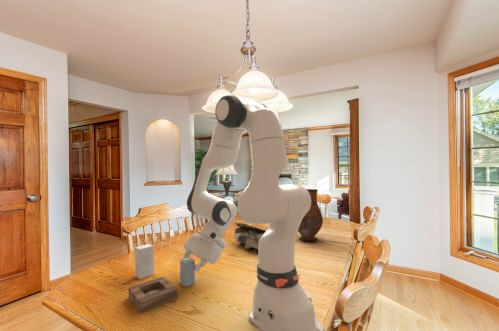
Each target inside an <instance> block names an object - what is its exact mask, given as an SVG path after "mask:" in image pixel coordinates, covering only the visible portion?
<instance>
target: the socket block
mask: <svg viewBox="0 0 499 331" xmlns="http://www.w3.org/2000/svg"><path fill="white" fill-rule="evenodd" d="M128 299H129V301H131V302H132V304H133V306H135V309H137V310H138V311H139V313H140V314H143V313H145V312H149V311H150V310H152V309H153V310H154V309H156V308H158V307H160V306H163V305H165V304H167V303H171V302H173V301H176V300H177V299H178V288H177V286H175V285H174V284H172V283H171V282H170V281H168V280H167V279H166V278H165V277H164V276H160V277H157V278H153V279H151V280H148V281H144V282H142V283H138V284H136V285H132V286H129V287H128Z"/></svg>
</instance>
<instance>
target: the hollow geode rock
mask: <svg viewBox="0 0 499 331" xmlns="http://www.w3.org/2000/svg"><path fill="white" fill-rule="evenodd" d="M234 224H235V225H236V226H237V227H236V228H235V229H234V240H235V241H236V242H237V243H239V244H240V245H242V244H243V245H244V248H245V249H247V250H249V249H250V248H251V249H252V248H254V249H256V250H258V243H259V239H260V237H261V236H262V235H263V234H264V233H265V232H266V230H267V229H266V230H265V229H263V228H258V227H256V226H252V225H249V224H247V223H246V224H245V223H241V222H239V223H238V222H235V223H234Z"/></svg>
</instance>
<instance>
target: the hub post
mask: <svg viewBox="0 0 499 331" xmlns="http://www.w3.org/2000/svg"><path fill="white" fill-rule="evenodd" d="M195 262H196V260H195V259H194V258H192V257H190V256H189V257H188V258H185V259H183V258H182V259H179V274H180V275H179V280H180V281H179V283H180V284H181V285H182V286H183V287H184V288H186V287H189V286H192V285H194V284H196V273H195V272H196V270H194V269H193V268H194V267H195V265H196V264H195Z"/></svg>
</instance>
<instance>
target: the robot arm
mask: <svg viewBox="0 0 499 331" xmlns="http://www.w3.org/2000/svg"><path fill="white" fill-rule="evenodd" d="M214 110H215V111H214V112H215V119H216V123H215V125H214V128H213V132H212V137H211V142H210V146H209V148H208V151H207V153H206V154H204V156H202V158H201V160H200V162H199V165H198V169H197V170H196V174H195V178H194V181H193V184H192V188H191V190H190V193H189V194H188V196H187V199H186V205H187V206H186V208H187V210H188V212H189V213H192V214H193V215H194V214H195V215H197V216H199V217H201V218H203V219H205V220H207V222H206V223H205V225H203V227H202V229H201V230H199V231H197V232H194V233H192V235H190V236H189V237H188V239H187V240H186V241H185V242H184V244H183V246H182V247H183V249H184V250H185V252H184V255H183V257H182V259H185V258H188V257H190V256H191V255H193V256H195V257H198V258H199V259H200V261H199V262H198V263H196V264H195V267H194V268H193V269H194V270H195V272H199V271H200V270H201V268H203V267H205V265H206V264H209V265H214V264H216V263H217V262H218V260H219V259H220V257H221V255H222V253H224V252H223V251H224V249H225V248H226V247H227V245H228V244H227V242H226V241H225V240H224V238H223V237H224V235H225V233H226V232H227V230H228V229H229V228H230V227H231V225H232V223H233V222H234V220H235V218H236V216H237V214H239V216H240V218H241V219H242V220H243V221H244V222H245V223H246V224H248V225H249V224H251V225H266V224H269V225H268V227H267V229H266V232H265V233H264V234H263V235H262V236H261V237H260V239H259V243H258V249H257V250H258V252H257V254H258V264H257V265H256V279H257V282H256V285H255V287H254V289H253V298H252V310H251V312H250V313H249V315H248V320H249V321H250V322H251V323H253V324H254V325H255V326H256V327H258V328H259V329H260V330H262V331H325V330H326V329H325V326H324V324H322V322H321V321H320V320H319V319H318V318H317V317H316V311H315V306H314V305H313V303H312V302H313V300H312V296H310V295H307V293H306V292H305V290H304V289H303V287H302V285H301V283H300V282H299V280H300V279H301V275H300V274H298V270H297V267H296V265H295V251H296V250H295V249H296V248H295V247H296V239H297V235H298V233H299V232H298V229H299V226H300V223H301V221H302V219H303V217H304V216H305V214H306V213H307V212H308V211H309V209H310V207H311V196H310V194H309V192H308V191H307V189H308V188H306V187H304V186H301V185H298V184H291V183H290V184H279V179H280V175H281V172H283V171H284V170H285V169H286V168H287V165H288V160H289V159H288V154H287V149H286V142H285V136H284V132H283V131H284V130H283V127H282V124H281V121H280V118H279V115H278V113H277V112H276V111H275V110H274V109H272V108H270V107H269V106H267V105H266V104H264V103H260V102H257V101H254V100H252V99H250V98H246V97H240V96H237V95H231V94H229V95H223V96H222V97H220V99H219V100H218V101H217V103H216V106H215V109H214ZM245 133H247V134H248V135H249V136H248V137H249V138H248V139H249V145H250V154H251V165H252V166H251V167H252V168H251V175H250V179H249V182H248V184H247V186H246V187H245V189H244V190H243V191H242V192H241V193H240V195H239V196H238V200H237V204H235V203H234V202H233V201H231V200H230V199H229V200H227V199H226V200H225V199H223V198H221V197H218V196H216V195H213V194H211V193H208V190H207V189H208V185H209V181H210V179H211V175H212V173H213V172H214V171H216V170H219V169H226V168H229V167H231V166H233V165H234V164H235V163H236V161H237V160H238V156H239V151H240V146H241V140H242V137H243V135H244V134H245Z"/></svg>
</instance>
